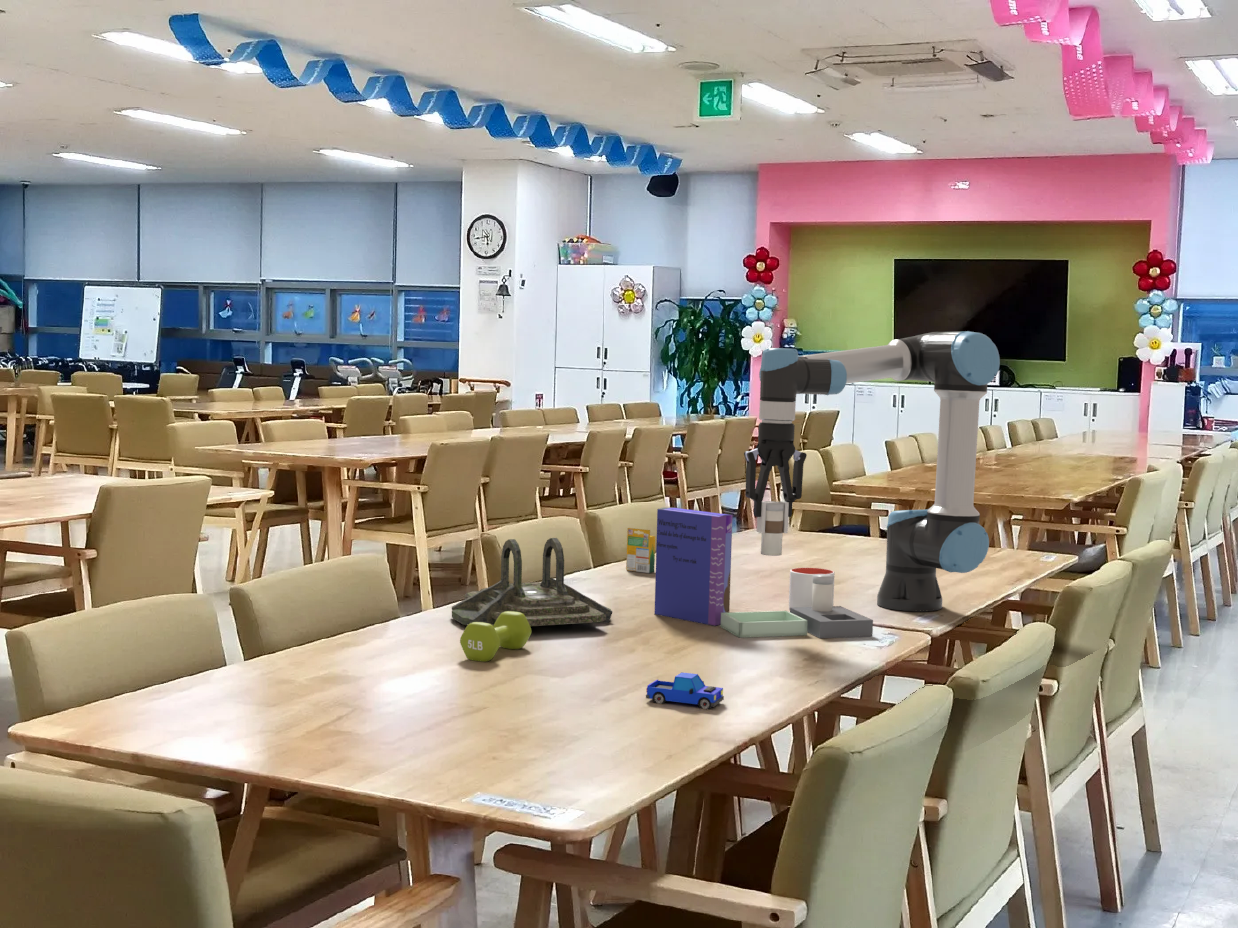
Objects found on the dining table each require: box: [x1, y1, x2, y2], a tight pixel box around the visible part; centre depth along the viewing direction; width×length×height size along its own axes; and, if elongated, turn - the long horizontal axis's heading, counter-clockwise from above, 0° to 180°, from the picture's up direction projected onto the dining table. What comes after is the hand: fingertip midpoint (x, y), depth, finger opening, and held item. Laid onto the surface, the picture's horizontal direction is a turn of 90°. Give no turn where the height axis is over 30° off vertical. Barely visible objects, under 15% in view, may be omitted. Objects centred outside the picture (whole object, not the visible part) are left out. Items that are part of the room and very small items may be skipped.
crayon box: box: [625, 527, 656, 574], centre depth 368 cm, size 7×3×12 cm, turn 58°
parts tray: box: [720, 610, 808, 638], centre depth 293 cm, size 15×11×3 cm
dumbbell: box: [459, 611, 532, 663], centre depth 265 cm, size 16×8×7 cm, turn 155°
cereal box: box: [654, 506, 733, 627], centre depth 303 cm, size 17×5×24 cm, turn 47°
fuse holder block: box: [789, 574, 874, 639], centre depth 296 cm, size 12×16×11 cm
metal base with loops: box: [451, 537, 613, 627], centre depth 298 cm, size 35×34×18 cm
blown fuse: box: [760, 500, 784, 557], centre depth 291 cm, size 4×4×11 cm
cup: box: [788, 567, 835, 611], centre depth 313 cm, size 10×10×10 cm
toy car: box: [645, 672, 725, 710], centre depth 231 cm, size 7×12×5 cm, turn 68°
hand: (771, 532), depth 291 cm, fingers closed on blown fuse, 4 cm apart
